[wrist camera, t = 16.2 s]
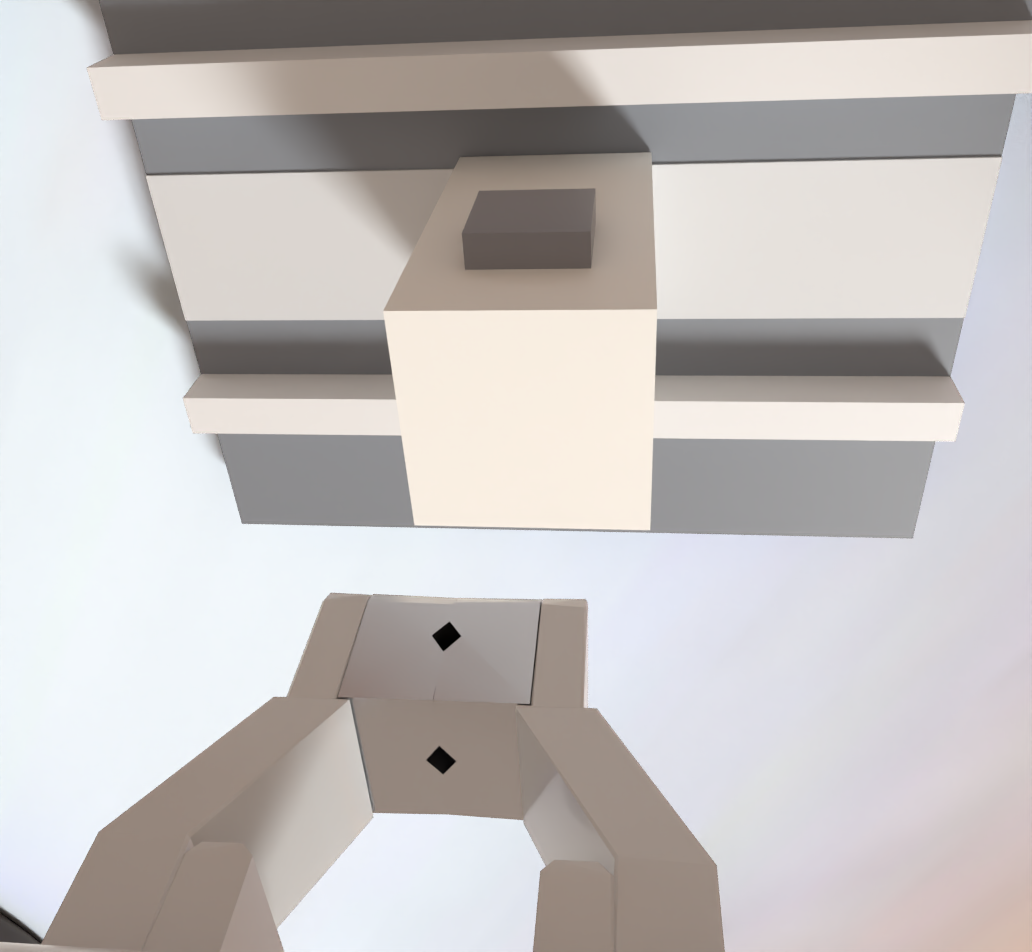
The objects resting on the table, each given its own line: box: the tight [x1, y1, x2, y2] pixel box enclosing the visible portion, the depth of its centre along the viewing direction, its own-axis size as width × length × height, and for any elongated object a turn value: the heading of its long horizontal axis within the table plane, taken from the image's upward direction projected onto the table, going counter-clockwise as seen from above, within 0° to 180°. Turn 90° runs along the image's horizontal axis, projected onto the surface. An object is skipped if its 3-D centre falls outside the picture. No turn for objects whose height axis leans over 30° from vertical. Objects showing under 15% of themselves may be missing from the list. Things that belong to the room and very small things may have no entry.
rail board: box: [87, 0, 1032, 538], centre depth 21 cm, size 18×16×3 cm
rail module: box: [383, 152, 657, 530], centre depth 18 cm, size 4×5×8 cm
